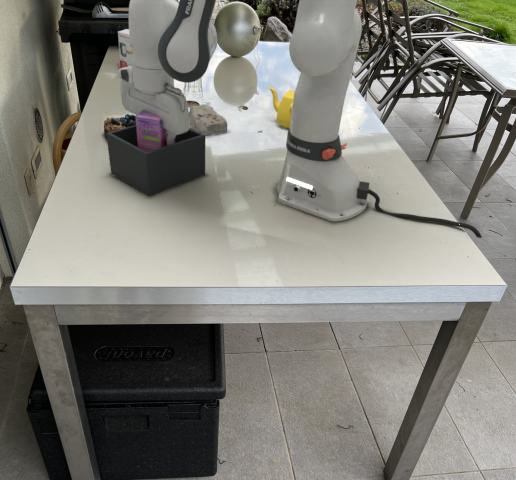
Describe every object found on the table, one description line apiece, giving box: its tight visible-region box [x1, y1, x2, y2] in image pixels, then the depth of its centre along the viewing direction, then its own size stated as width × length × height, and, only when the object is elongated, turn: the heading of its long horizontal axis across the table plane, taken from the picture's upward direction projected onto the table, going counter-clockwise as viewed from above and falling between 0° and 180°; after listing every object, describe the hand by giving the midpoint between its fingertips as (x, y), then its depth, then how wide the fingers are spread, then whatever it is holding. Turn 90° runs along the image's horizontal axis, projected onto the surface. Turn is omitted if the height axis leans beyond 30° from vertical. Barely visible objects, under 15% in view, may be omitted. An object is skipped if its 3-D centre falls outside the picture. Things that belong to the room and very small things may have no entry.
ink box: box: [117, 28, 133, 69], centre depth 186 cm, size 9×5×12 cm, turn 62°
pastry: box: [103, 113, 136, 140], centre depth 144 cm, size 11×12×6 cm
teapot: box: [267, 86, 295, 129], centre depth 158 cm, size 14×13×10 cm
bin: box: [106, 125, 206, 197], centre depth 128 cm, size 15×18×10 cm
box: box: [136, 110, 175, 152], centre depth 125 cm, size 10×6×12 cm, turn 168°
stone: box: [189, 104, 229, 136], centre depth 154 cm, size 13×6×10 cm
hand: (156, 140), depth 125 cm, fingers closed on box, 7 cm apart
